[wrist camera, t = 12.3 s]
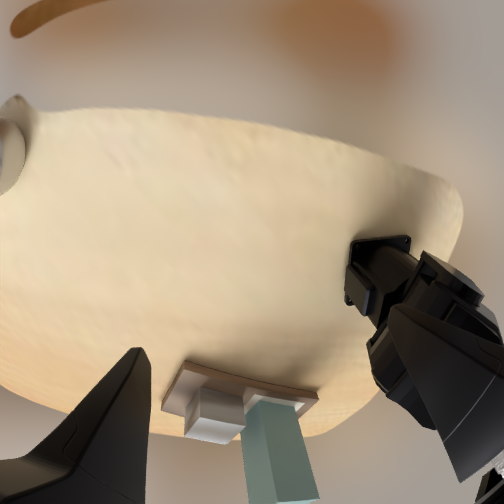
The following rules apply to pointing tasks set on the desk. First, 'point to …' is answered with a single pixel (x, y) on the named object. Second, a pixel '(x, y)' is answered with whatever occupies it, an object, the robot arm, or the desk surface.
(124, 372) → the robot arm
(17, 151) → the silver ribbed bottle
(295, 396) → the base plate
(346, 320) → the desk surface
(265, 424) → the pillar block
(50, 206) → the desk surface
